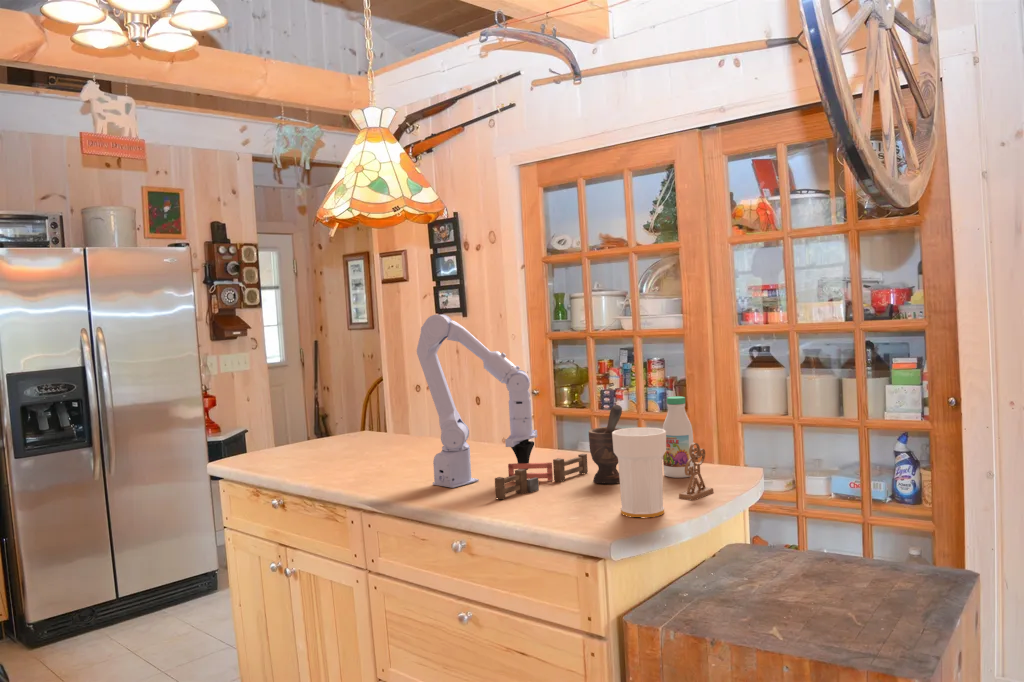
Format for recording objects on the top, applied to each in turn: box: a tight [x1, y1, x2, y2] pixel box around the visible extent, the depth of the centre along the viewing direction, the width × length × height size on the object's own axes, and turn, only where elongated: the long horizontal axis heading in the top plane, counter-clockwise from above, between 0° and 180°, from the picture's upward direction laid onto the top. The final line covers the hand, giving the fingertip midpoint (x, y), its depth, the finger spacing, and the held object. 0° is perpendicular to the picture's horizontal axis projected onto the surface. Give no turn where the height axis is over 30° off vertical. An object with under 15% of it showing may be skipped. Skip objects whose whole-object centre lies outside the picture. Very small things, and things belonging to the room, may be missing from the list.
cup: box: [612, 426, 666, 518], centre depth 170 cm, size 11×11×17 cm
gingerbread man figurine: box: [678, 442, 714, 501], centre depth 182 cm, size 9×4×12 cm, turn 136°
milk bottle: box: [662, 396, 695, 479], centre depth 203 cm, size 8×8×20 cm
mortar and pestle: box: [588, 404, 623, 485], centre depth 199 cm, size 12×9×20 cm
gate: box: [507, 462, 554, 482], centre depth 206 cm, size 11×1×4 cm, turn 82°
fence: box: [494, 453, 589, 500], centre depth 200 cm, size 34×3×6 cm, turn 137°
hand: (523, 469), depth 207 cm, fingers closed, pressing on gate
